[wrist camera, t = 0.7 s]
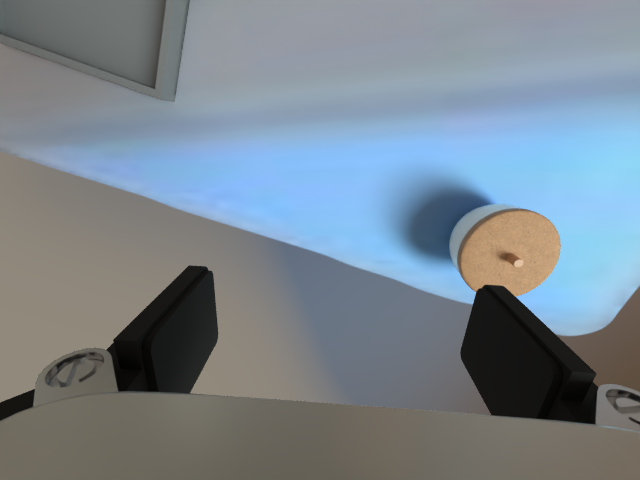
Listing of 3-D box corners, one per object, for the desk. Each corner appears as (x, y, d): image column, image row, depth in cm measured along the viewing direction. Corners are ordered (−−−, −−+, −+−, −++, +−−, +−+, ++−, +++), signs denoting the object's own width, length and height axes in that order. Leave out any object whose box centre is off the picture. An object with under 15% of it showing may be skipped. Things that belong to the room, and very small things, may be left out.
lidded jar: (492, 280, 43) (533, 319, 34) (423, 254, 42) (448, 288, 33) (536, 211, 39) (595, 236, 31) (462, 182, 38) (501, 199, 30)
